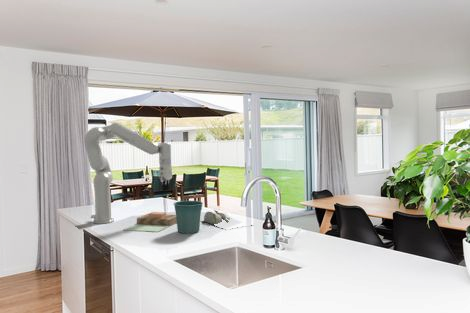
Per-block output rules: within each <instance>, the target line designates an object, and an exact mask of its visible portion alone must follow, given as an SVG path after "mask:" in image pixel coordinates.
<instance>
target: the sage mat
mask: <svg viewBox="0 0 470 313" xmlns="http://www.w3.org/2000/svg"><path fill="white" fill-rule="evenodd" d="M167 228H170V226H160V225H142V224H137V223H136V224H133V225H131V226H128V227H126V228H124V229H123V231H131V232H148V233H159V232H161V231H163V230H165V229H167Z"/></svg>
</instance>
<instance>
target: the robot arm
mask: <svg viewBox="0 0 470 313" xmlns="http://www.w3.org/2000/svg"><path fill="white" fill-rule="evenodd" d="M114 138H117V139H120V140H121V141H123V142H124V143H127V144H129V145H130V146H133V147H135V148H137V149H139V150H141V151H143V152H145V153H147V154H148V155H157V154H158V163H159V171H158V172H159V173H158V174H159V175H158V177H159V179H160V182H161V184H162V191H170V181H171V179H172V178H173V168H172V167H173V166H172V145H171V143H170V142H160V143H159V142H153V141H151V140H150V139H147V138H146V137H143V136H142V135H141V134H139V133H138V132H137V131H134V130H133V129H130V128H129V127H127V126H125V125H122V123H119V122H112V123H111V124H110V125H105V126H102V127H99V126H98V127H97V126H95V127H91V128H90V129H89V130H88V131H87V132H86V134H85V136H84V139H83V140H84V148H85V151H86V155H87V158H88V162H89V166H90V168H91V169H92V170H93V171H94V172H95V174H96V175H95V176H94V177H93V189H94V208H95V209H94V210H95V212H94V213H95V214H91V216H90V219H93V220H92V223H93V224H97V225H99V224H100V225H103V224H109V223H113V222H114V221H115V219H114V218H112V200H111V198H112V197H111V185H110V184H112V182H113V178H114V177H113V174H112V169H111V166H110V163H109V160H108V158H106V157H105V156H104V155H103V153H102V149H101V146H100V143H99V142H101V141H106V140H109V139H114Z"/></svg>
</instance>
